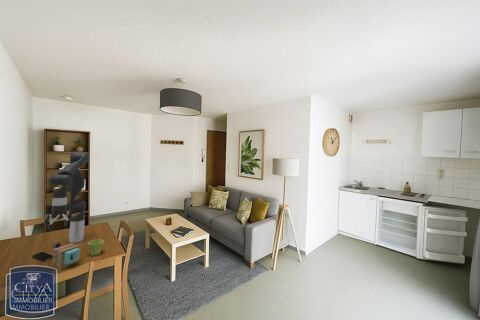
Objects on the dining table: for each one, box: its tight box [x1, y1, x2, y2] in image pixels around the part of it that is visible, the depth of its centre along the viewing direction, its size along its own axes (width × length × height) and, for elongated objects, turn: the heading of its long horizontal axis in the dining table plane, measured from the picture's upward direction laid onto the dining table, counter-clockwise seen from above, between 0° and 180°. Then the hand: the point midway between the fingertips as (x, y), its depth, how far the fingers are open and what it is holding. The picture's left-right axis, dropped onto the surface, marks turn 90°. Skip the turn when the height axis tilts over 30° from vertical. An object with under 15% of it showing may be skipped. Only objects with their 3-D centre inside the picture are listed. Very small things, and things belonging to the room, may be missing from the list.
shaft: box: [52, 241, 78, 259], centre depth 129 cm, size 21×3×6 cm, turn 71°
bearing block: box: [51, 242, 80, 270], centre depth 128 cm, size 8×10×11 cm
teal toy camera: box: [64, 248, 81, 264], centre depth 126 cm, size 3×7×7 cm, turn 161°
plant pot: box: [87, 239, 104, 257], centre depth 143 cm, size 9×9×9 cm
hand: (58, 227), depth 132 cm, fingers open, 8 cm apart
